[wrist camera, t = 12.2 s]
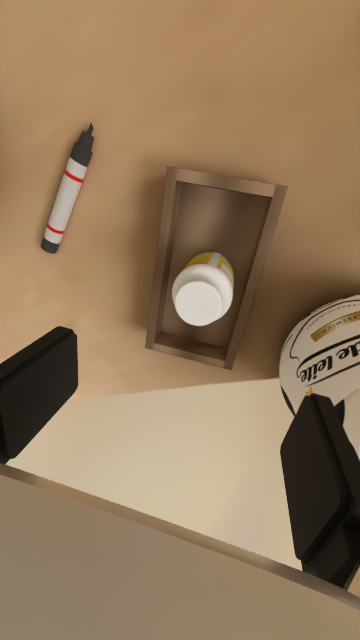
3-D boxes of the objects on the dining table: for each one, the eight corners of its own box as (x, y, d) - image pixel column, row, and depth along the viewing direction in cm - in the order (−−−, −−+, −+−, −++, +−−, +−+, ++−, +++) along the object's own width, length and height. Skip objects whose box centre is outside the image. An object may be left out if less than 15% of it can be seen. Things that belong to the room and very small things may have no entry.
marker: (60, 252, 34) (50, 254, 33) (47, 243, 34) (36, 245, 33) (104, 131, 28) (95, 126, 26) (89, 120, 28) (78, 114, 26)
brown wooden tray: (281, 189, 26) (287, 186, 23) (232, 353, 35) (231, 370, 31) (176, 171, 27) (167, 166, 24) (154, 333, 36) (145, 347, 32)
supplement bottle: (180, 285, 32) (155, 317, 22) (198, 242, 29) (179, 258, 20) (221, 304, 31) (213, 345, 22) (243, 263, 29) (244, 289, 20)
